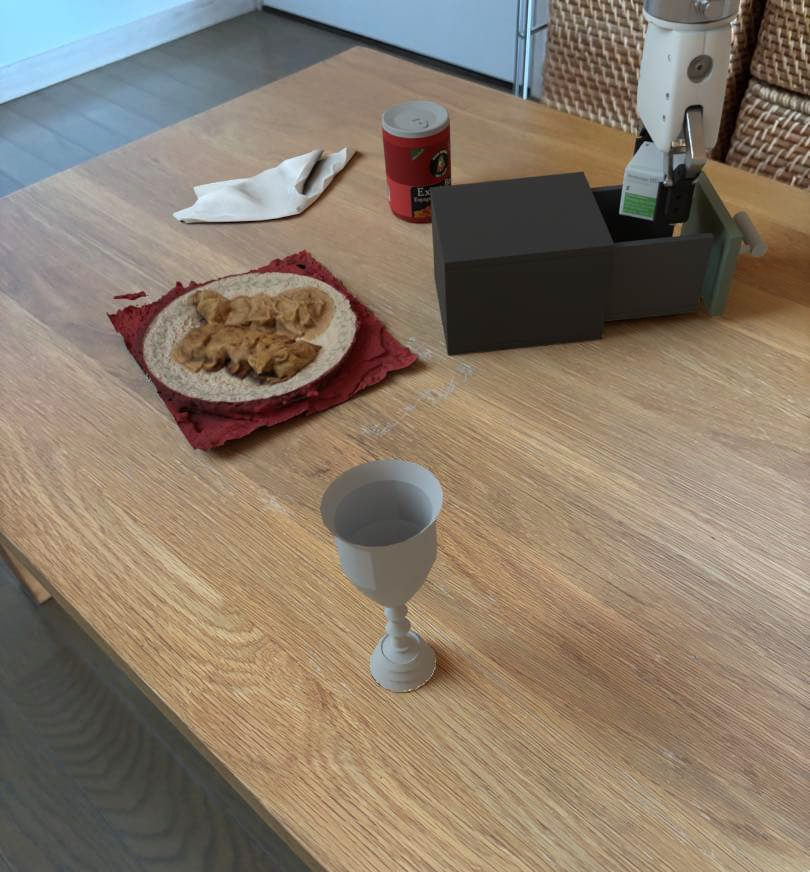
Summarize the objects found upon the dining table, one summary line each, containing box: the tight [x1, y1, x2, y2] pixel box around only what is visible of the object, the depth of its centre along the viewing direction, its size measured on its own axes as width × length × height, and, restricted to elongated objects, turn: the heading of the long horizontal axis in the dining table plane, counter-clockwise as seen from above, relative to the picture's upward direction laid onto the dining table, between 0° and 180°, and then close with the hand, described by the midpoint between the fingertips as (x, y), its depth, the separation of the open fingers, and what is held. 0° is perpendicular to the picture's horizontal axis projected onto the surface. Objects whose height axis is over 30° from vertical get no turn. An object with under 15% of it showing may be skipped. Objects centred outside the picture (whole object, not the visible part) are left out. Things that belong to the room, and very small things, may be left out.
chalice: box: [319, 458, 444, 692], centre depth 57 cm, size 7×7×18 cm
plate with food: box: [106, 248, 418, 452], centre depth 88 cm, size 24×26×4 cm
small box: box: [619, 141, 696, 227], centre depth 81 cm, size 6×6×5 cm
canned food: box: [381, 100, 452, 224], centre depth 101 cm, size 8×8×11 cm
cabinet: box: [430, 171, 615, 356], centre depth 87 cm, size 16×14×11 cm
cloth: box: [172, 146, 358, 224], centre depth 109 cm, size 26×14×2 cm, turn 113°
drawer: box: [590, 170, 769, 322], centre depth 87 cm, size 19×12×9 cm, turn 94°
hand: (658, 198), depth 83 cm, fingers closed on small box, 7 cm apart
